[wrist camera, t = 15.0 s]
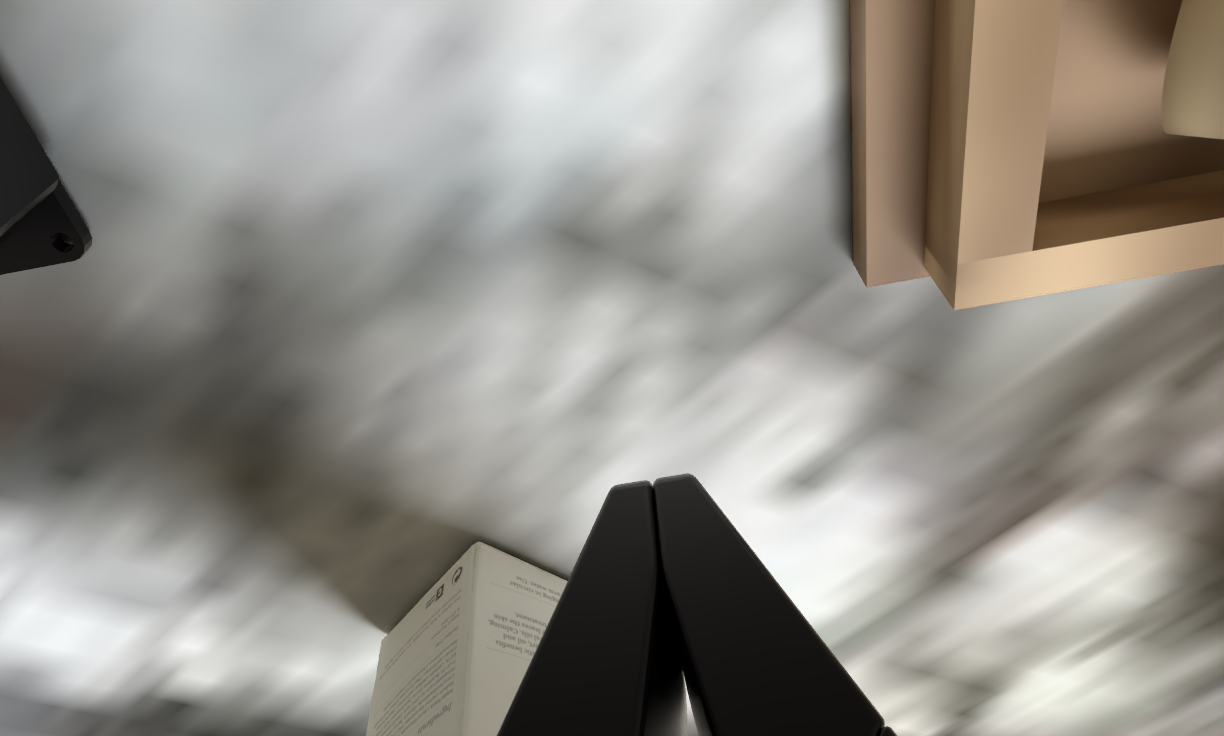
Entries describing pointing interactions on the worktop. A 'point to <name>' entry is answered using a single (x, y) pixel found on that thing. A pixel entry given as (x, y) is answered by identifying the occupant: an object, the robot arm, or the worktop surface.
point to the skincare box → (463, 648)
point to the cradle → (1023, 148)
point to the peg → (1195, 72)
